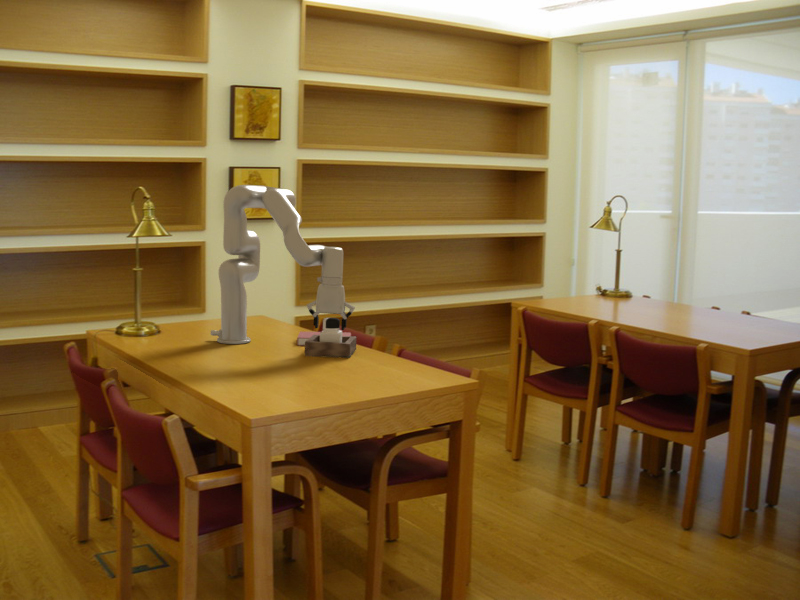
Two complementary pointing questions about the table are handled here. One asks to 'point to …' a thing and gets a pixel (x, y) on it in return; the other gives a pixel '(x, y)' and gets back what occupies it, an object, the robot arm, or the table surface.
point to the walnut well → (330, 347)
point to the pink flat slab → (306, 335)
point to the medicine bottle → (331, 330)
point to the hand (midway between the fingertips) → (329, 328)
